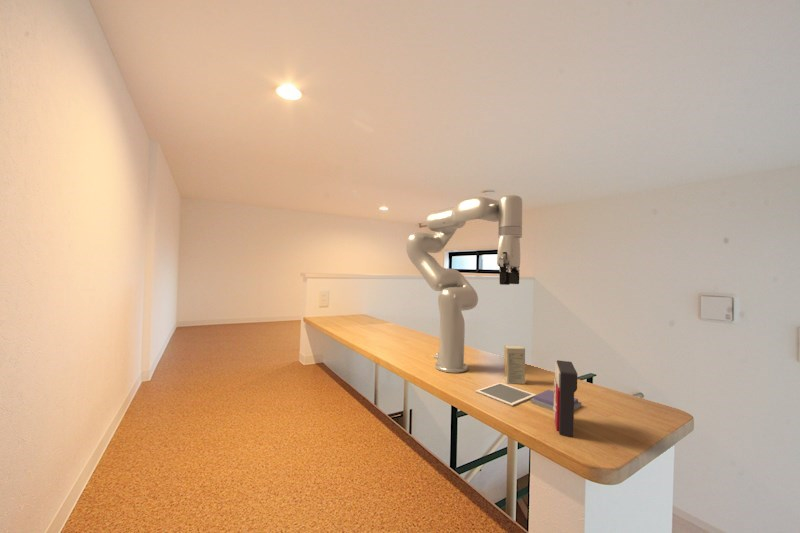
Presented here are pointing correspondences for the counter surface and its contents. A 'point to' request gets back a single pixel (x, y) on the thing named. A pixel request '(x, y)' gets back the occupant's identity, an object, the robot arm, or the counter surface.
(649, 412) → the counter surface
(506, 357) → the skincare box
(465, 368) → the robot arm
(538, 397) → the ink pad
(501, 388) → the white picture frame
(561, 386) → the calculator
